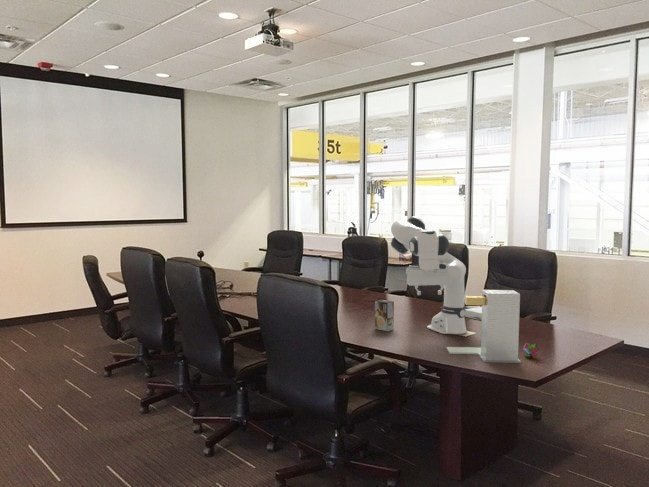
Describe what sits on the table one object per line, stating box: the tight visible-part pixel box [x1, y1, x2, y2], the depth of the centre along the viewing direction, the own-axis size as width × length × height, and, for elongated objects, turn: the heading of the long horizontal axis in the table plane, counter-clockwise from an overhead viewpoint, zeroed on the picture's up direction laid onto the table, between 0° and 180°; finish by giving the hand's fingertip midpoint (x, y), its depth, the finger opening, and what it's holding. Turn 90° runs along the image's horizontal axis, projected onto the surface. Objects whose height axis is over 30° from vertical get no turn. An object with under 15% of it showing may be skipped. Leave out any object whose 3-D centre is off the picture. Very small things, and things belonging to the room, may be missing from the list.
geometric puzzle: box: [522, 342, 540, 360], centre depth 242 cm, size 7×7×8 cm
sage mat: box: [446, 346, 481, 355], centre depth 251 cm, size 22×9×1 cm, turn 87°
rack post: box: [477, 289, 522, 364], centre depth 238 cm, size 16×11×31 cm
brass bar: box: [464, 295, 486, 306], centre depth 237 cm, size 19×4×4 cm, turn 87°
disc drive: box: [464, 306, 482, 321], centre depth 328 cm, size 18×22×5 cm
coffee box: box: [374, 299, 395, 332], centre depth 294 cm, size 9×6×16 cm
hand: (429, 294), depth 241 cm, fingers open, 8 cm apart
